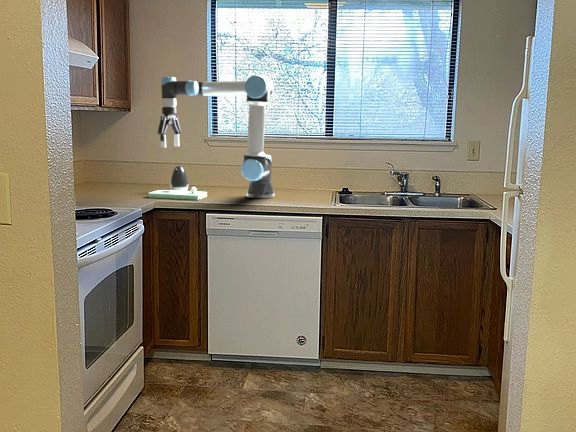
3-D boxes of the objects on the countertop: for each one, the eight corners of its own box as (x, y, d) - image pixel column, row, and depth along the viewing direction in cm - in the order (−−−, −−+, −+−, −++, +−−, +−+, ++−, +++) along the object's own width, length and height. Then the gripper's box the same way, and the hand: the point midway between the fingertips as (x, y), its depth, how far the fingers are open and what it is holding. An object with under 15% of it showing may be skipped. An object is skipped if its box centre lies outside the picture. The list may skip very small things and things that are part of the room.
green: (206, 196, 324) (206, 191, 324) (197, 200, 311) (197, 195, 310) (159, 194, 330) (159, 189, 329) (148, 197, 316) (148, 193, 316)
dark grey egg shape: (167, 193, 334) (166, 166, 331) (175, 190, 344) (174, 164, 341) (184, 194, 331) (183, 167, 329) (191, 191, 341) (191, 165, 339)
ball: (197, 192, 319) (197, 186, 319) (195, 193, 316) (195, 187, 315) (191, 192, 320) (191, 186, 319) (189, 193, 317) (189, 187, 316)
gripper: (175, 106, 328) (175, 145, 331) (150, 106, 305) (151, 147, 308) (187, 107, 325) (187, 145, 329) (162, 106, 302) (163, 148, 306)
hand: (170, 146), depth 319 cm, fingers open, 13 cm apart
